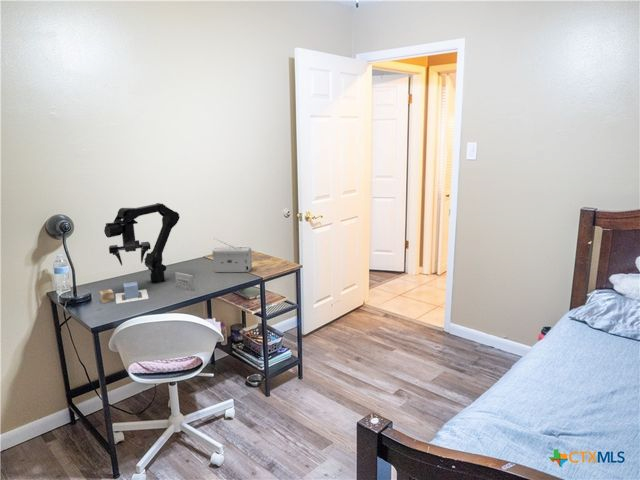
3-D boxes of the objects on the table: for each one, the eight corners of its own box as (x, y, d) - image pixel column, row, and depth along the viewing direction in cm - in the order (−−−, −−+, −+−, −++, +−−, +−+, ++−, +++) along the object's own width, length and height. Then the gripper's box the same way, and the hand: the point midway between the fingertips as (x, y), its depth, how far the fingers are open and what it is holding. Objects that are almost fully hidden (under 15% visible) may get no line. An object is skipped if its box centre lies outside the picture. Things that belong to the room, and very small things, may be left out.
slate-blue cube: (138, 293, 217) (136, 281, 216) (139, 297, 212) (137, 285, 211) (124, 295, 215) (123, 283, 213) (125, 299, 210) (123, 287, 208)
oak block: (112, 298, 212) (111, 289, 211) (114, 302, 208) (113, 292, 207) (100, 301, 209) (99, 291, 208) (102, 304, 205) (101, 294, 204)
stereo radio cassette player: (252, 268, 256) (250, 234, 251) (250, 273, 248) (248, 238, 243) (216, 268, 256) (213, 235, 251) (212, 273, 248) (210, 238, 243)
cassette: (195, 289, 223) (193, 275, 221) (192, 291, 221) (191, 276, 219) (178, 286, 229) (176, 271, 227) (175, 287, 227) (174, 272, 225)
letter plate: (146, 290, 223) (146, 289, 223) (148, 299, 210) (148, 298, 210) (115, 294, 217) (115, 293, 217) (116, 304, 205) (116, 303, 204)
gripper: (107, 239, 207) (111, 271, 211) (150, 234, 215) (153, 265, 219) (107, 234, 217) (111, 265, 221) (147, 230, 225) (151, 260, 228)
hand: (131, 264), depth 222 cm, fingers open, 9 cm apart
